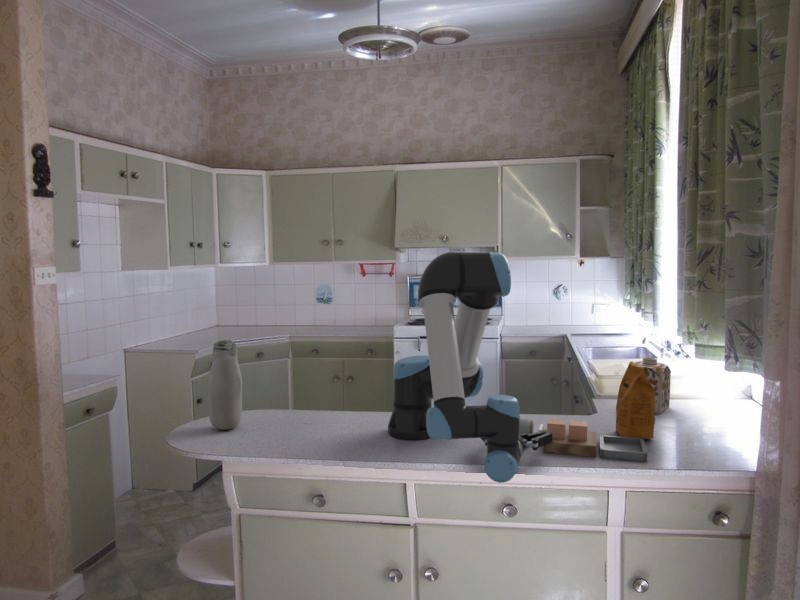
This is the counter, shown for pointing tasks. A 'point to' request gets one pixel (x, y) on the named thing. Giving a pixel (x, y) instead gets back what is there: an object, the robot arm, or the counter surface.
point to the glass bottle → (225, 387)
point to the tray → (623, 448)
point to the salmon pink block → (557, 428)
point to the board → (573, 445)
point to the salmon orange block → (578, 430)
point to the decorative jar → (658, 382)
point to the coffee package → (635, 404)
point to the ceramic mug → (525, 426)
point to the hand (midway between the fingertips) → (517, 426)
